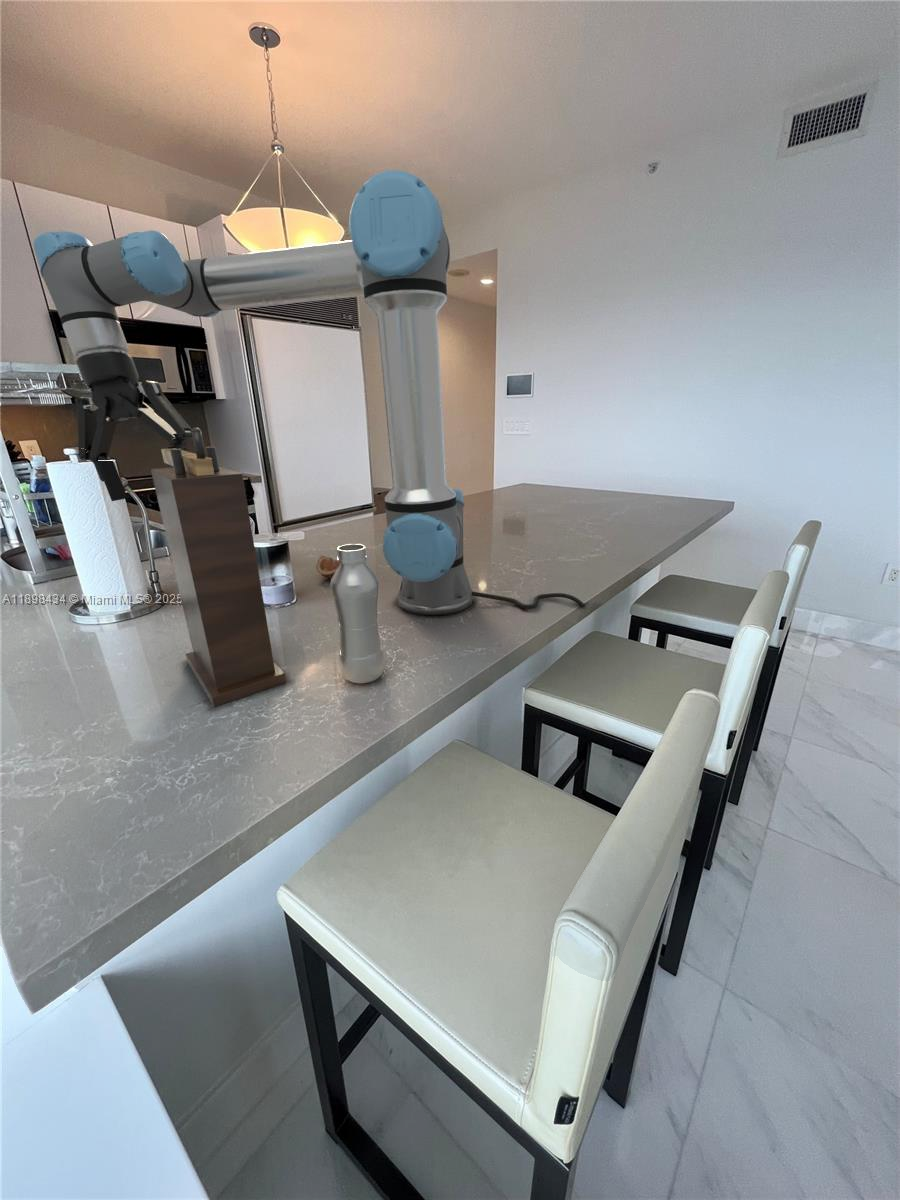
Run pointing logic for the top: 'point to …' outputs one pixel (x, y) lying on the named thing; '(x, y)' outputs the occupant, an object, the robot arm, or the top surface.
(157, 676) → the top surface
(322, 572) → the fruit slice
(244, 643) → the hook stand
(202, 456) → the hanger bar
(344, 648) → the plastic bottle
